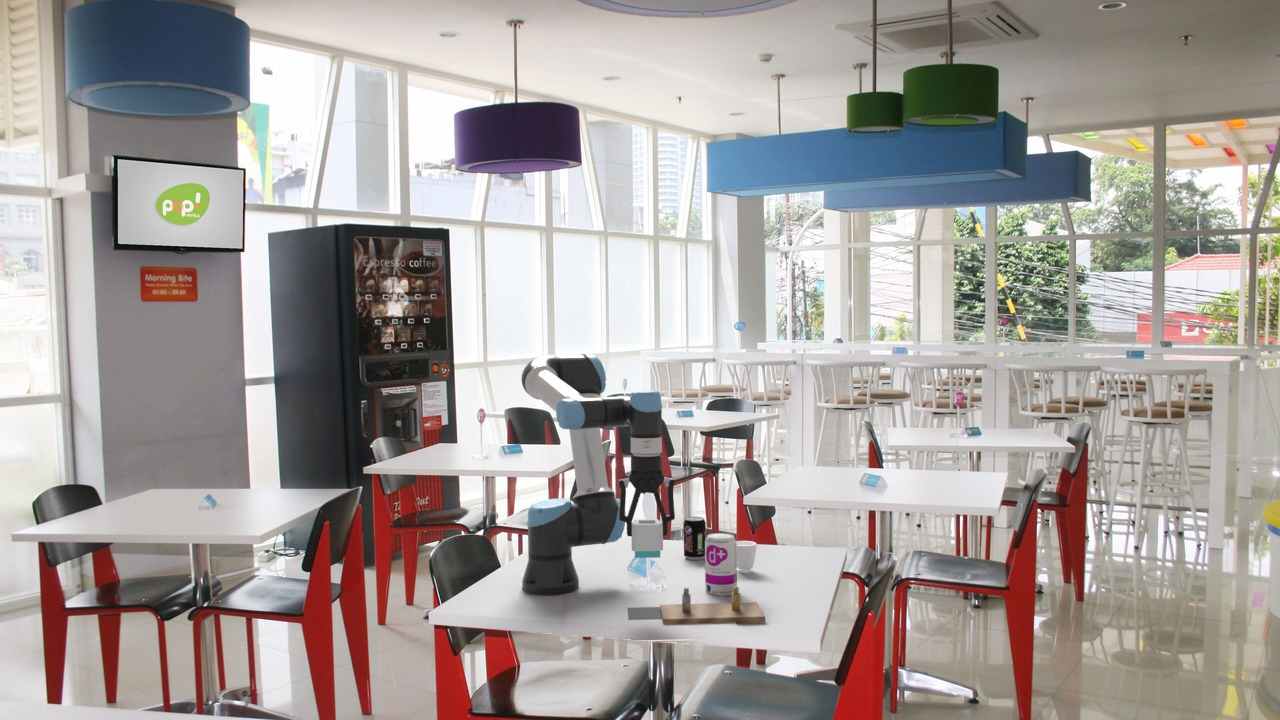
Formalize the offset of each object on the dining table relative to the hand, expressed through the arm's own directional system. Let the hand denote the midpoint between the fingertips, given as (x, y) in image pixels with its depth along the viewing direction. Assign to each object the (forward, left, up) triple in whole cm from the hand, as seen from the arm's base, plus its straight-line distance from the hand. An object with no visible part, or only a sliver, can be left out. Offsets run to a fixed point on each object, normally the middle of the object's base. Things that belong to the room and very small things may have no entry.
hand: (647, 549), depth 238 cm
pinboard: (+15, -3, -16) cm, 22 cm away
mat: (0, 0, -16) cm, 16 cm away
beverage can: (+17, +57, -16) cm, 61 cm away
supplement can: (+20, +18, -16) cm, 31 cm away
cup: (+28, +40, -16) cm, 51 cm away
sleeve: (0, 0, -1) cm, 1 cm away
